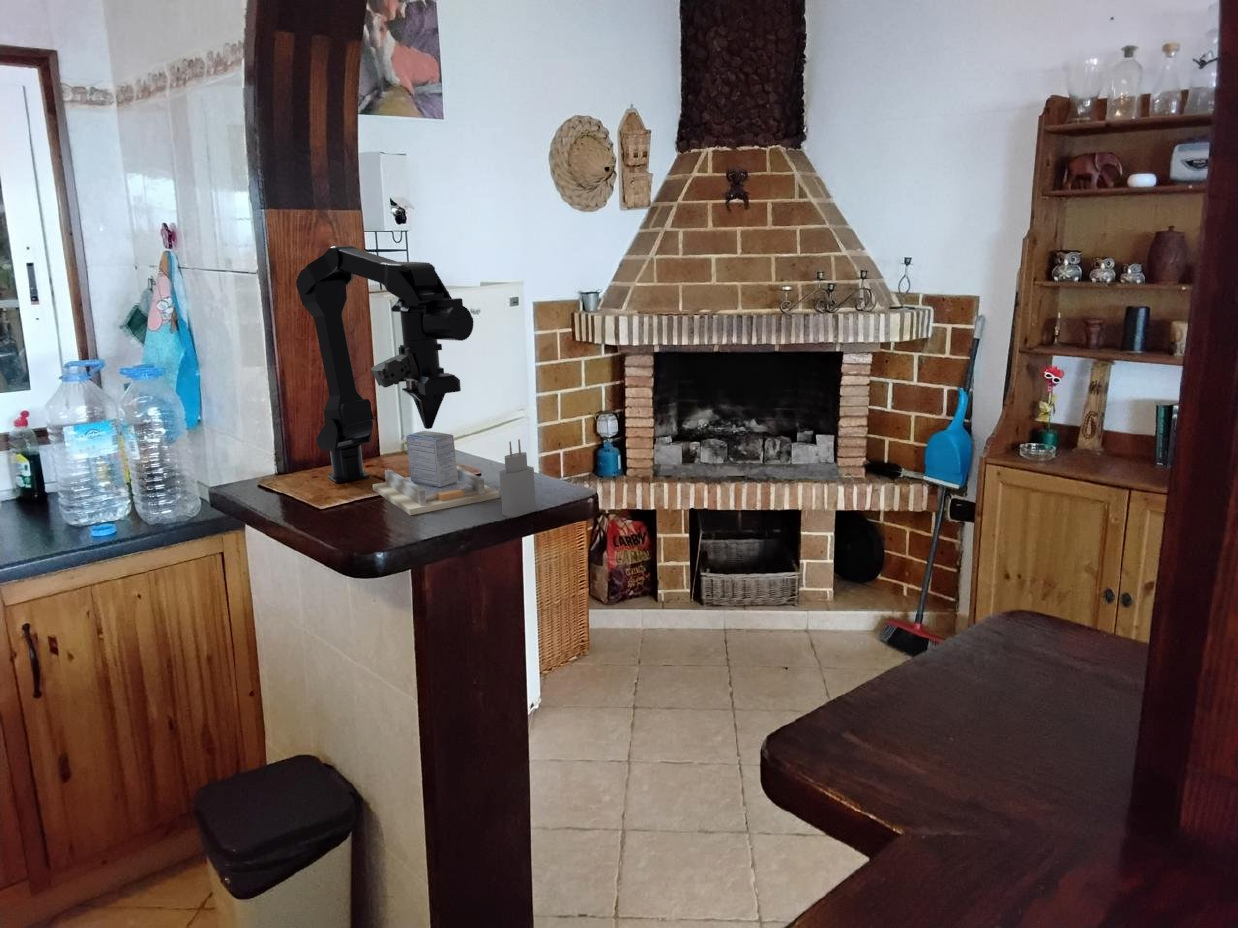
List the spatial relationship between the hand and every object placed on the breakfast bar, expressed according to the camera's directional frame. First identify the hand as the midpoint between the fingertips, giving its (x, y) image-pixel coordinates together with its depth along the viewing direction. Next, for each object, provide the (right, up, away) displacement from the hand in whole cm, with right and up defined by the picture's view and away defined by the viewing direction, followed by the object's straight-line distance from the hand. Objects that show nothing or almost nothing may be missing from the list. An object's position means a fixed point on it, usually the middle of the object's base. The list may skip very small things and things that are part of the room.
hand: (428, 428), depth 161 cm
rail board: (+1, -11, +3) cm, 12 cm away
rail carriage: (+1, -11, +2) cm, 11 cm away
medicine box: (+1, -10, +3) cm, 10 cm away
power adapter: (+17, -14, -10) cm, 24 cm away
